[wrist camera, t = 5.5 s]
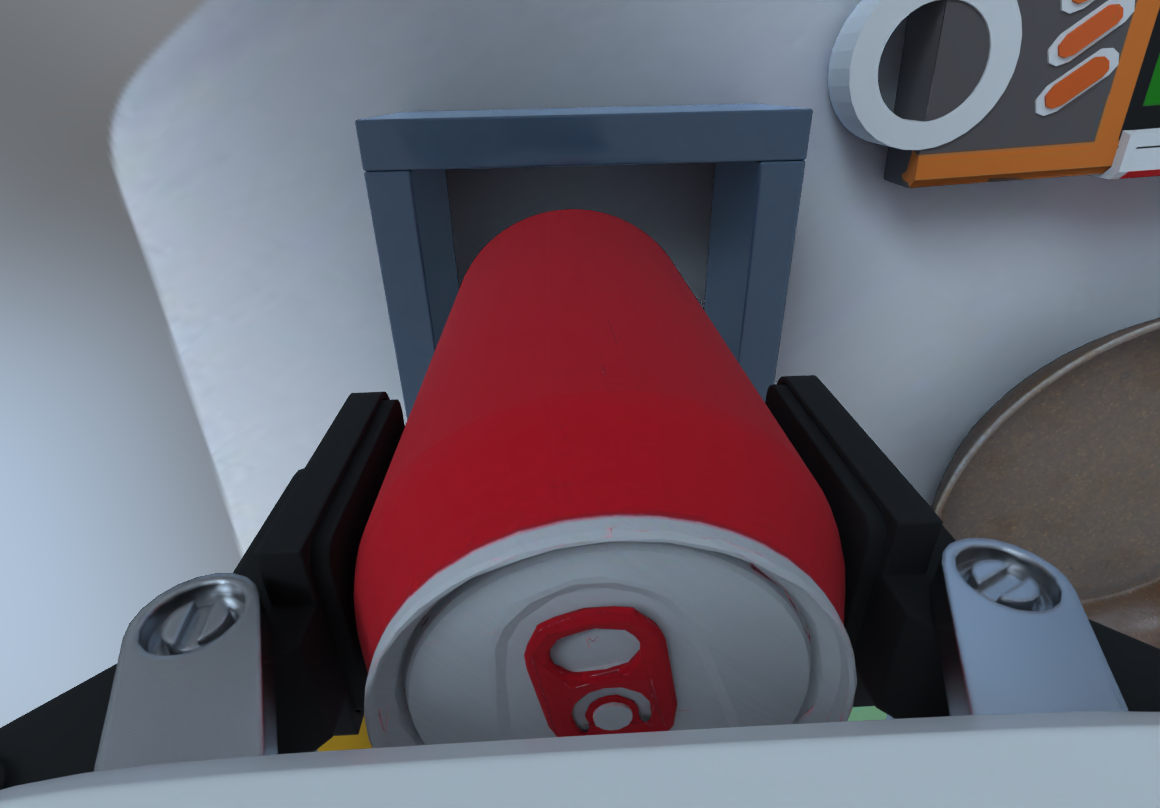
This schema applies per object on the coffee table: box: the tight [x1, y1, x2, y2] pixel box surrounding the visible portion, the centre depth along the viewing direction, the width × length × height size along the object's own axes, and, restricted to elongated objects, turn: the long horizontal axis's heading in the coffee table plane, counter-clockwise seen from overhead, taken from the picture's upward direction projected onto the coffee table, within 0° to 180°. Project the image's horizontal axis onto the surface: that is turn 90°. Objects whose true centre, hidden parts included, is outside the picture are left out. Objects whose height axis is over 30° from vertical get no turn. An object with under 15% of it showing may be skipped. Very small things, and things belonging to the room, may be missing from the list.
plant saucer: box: [932, 318, 1160, 649], centre depth 25 cm, size 18×18×3 cm
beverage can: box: [353, 209, 857, 748], centre depth 12 cm, size 6×6×12 cm
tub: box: [355, 103, 813, 420], centre depth 20 cm, size 11×11×5 cm
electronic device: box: [828, 0, 1160, 188], centre depth 18 cm, size 7×3×15 cm
